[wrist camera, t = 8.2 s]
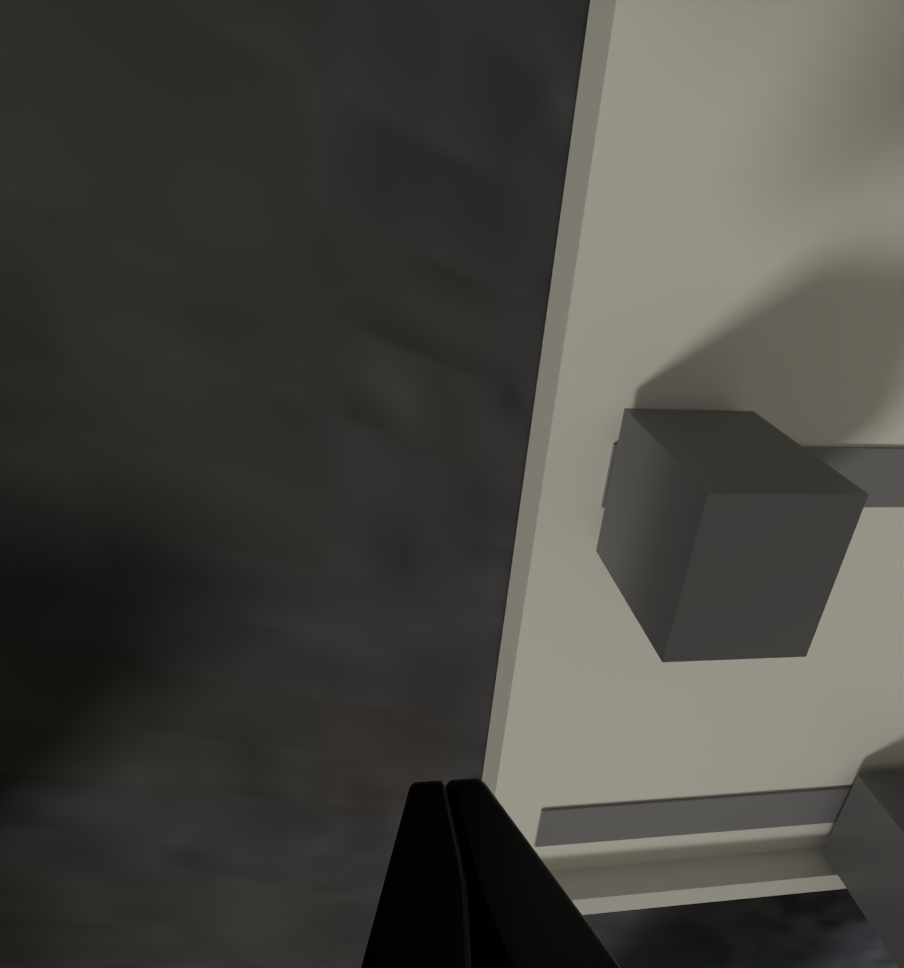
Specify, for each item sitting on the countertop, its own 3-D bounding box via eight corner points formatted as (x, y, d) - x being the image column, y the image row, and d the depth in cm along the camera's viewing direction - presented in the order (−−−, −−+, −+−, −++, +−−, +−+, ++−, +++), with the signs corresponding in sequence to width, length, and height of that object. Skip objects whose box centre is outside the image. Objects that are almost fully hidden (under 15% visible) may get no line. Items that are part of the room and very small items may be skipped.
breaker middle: (752, 411, 16) (868, 494, 12) (713, 549, 17) (806, 656, 14) (624, 408, 15) (707, 494, 12) (596, 551, 17) (662, 662, 14)
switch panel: (1455, -271, 14) (1672, -344, 11) (889, 816, 27) (939, 879, 25) (653, -459, 11) (736, -604, 9) (472, 850, 24) (485, 924, 22)
